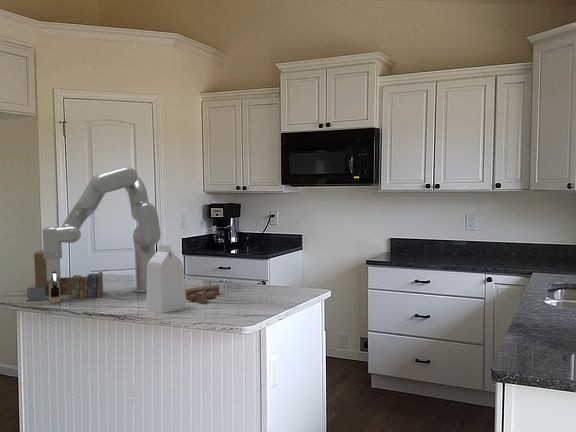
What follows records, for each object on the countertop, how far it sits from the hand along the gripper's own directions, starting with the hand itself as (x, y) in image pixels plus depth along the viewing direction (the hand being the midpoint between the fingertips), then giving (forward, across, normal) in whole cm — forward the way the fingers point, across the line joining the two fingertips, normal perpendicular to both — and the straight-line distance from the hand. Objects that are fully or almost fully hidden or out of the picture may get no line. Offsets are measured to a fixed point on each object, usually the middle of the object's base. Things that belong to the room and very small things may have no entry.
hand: (54, 295), depth 242 cm
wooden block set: (+3, +32, +60) cm, 68 cm away
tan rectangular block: (+3, 0, 0) cm, 3 cm away
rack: (+3, -7, +10) cm, 12 cm away
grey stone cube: (+3, -8, -6) cm, 11 cm away
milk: (+3, +41, +39) cm, 57 cm away
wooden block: (+3, -24, -1) cm, 24 cm away
